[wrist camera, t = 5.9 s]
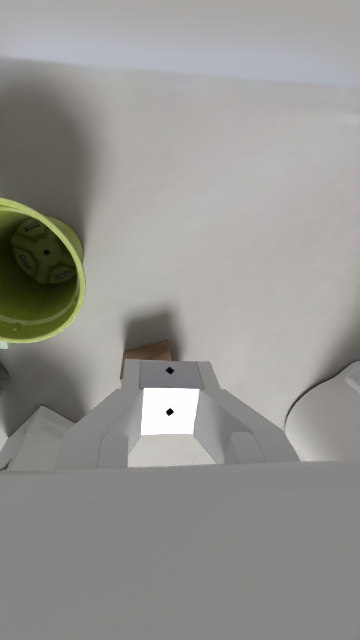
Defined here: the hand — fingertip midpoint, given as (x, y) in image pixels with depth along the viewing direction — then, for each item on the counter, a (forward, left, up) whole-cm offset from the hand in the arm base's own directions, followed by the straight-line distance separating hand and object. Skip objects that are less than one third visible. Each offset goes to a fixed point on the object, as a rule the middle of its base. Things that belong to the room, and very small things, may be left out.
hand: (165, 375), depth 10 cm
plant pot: (+9, 0, -19) cm, 21 cm away
